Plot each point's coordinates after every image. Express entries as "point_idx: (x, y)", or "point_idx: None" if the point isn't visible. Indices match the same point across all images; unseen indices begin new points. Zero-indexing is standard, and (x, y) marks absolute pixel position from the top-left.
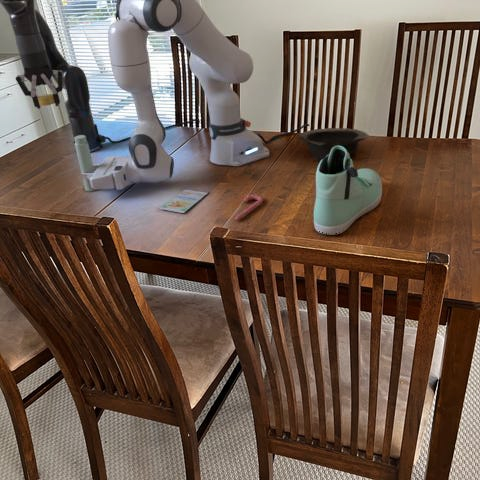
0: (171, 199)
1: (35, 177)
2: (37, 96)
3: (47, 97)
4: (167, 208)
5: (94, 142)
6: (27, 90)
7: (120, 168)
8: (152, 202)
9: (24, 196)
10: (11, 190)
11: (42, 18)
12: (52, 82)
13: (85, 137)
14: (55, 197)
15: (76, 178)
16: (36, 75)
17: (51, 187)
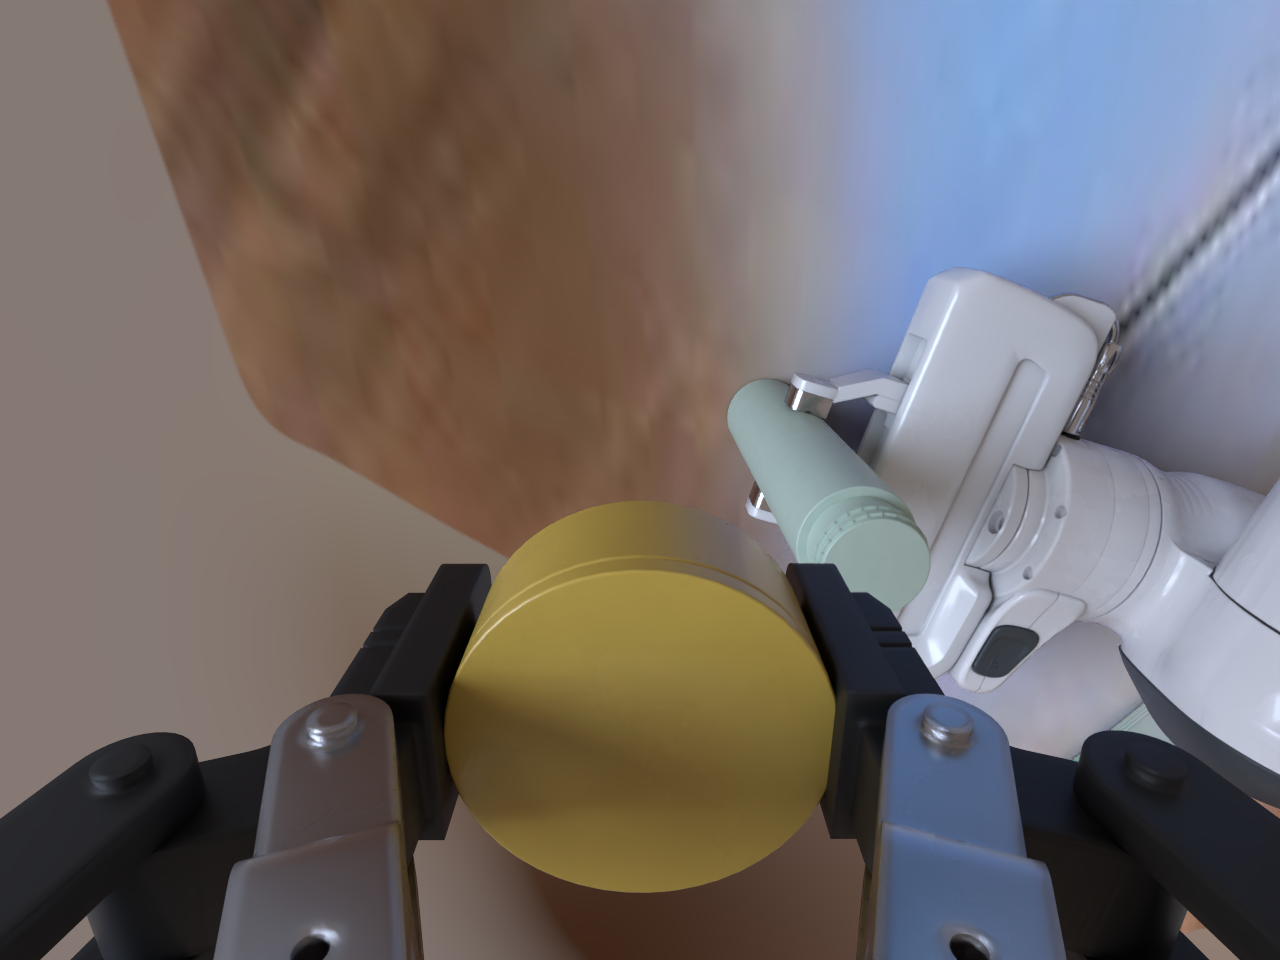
0: (1132, 714)
1: (347, 17)
2: (435, 677)
3: (698, 859)
4: None
5: None
6: (128, 858)
7: (1018, 664)
8: (1040, 692)
9: (354, 362)
10: (230, 221)
11: None
12: (1046, 924)
13: (923, 577)
14: (553, 452)
15: (667, 188)
16: None
17: (506, 284)
